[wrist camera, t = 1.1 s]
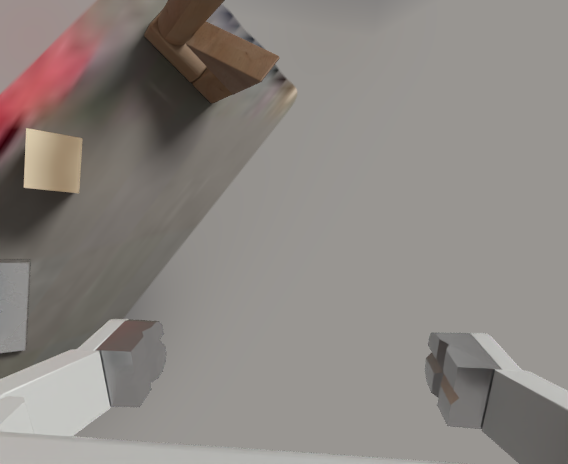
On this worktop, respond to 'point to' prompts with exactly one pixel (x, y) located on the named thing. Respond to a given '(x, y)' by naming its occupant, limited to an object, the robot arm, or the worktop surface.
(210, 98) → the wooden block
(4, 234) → the worktop surface
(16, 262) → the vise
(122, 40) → the worktop surface
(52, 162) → the beech block
